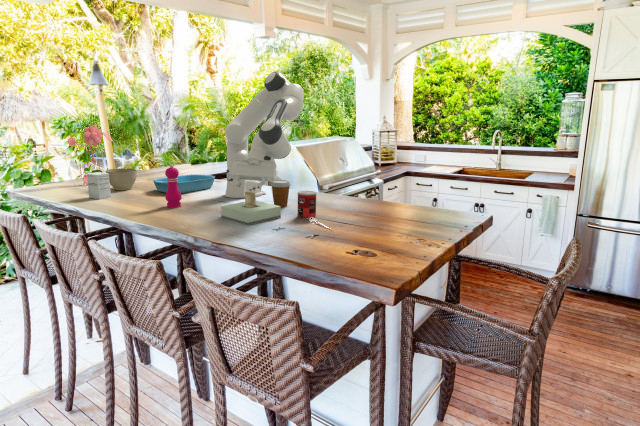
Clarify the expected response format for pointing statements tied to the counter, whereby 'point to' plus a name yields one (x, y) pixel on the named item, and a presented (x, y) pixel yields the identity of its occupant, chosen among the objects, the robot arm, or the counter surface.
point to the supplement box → (98, 185)
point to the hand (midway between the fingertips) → (248, 187)
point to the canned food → (306, 204)
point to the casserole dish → (186, 183)
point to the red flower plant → (90, 142)
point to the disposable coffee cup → (280, 192)
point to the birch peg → (250, 199)
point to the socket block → (250, 212)
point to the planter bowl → (122, 178)
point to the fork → (318, 222)
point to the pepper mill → (172, 188)
